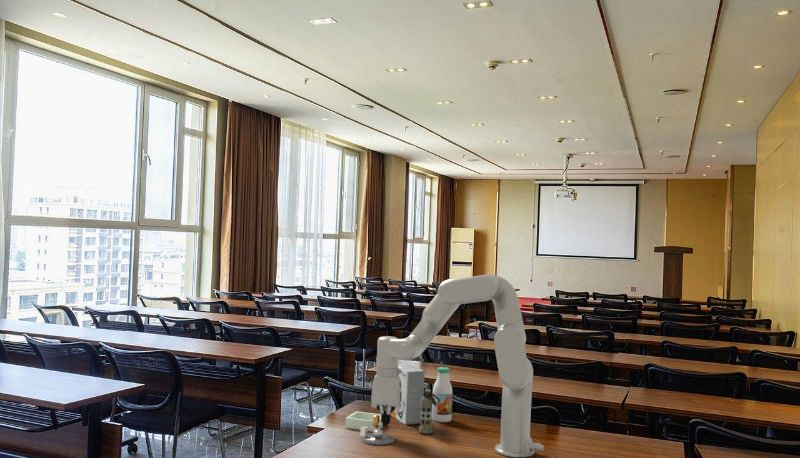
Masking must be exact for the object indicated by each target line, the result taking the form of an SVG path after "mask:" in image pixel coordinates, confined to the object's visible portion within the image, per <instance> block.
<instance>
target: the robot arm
mask: <svg viewBox="0 0 800 458" xmlns="http://www.w3.org/2000/svg"><path fill="white" fill-rule="evenodd" d="M490 300H491V301H492V303H493V307H494V314H495V319H496V328H497V331H496V332H495V334H494V337H493V339H494V340H493V343H494V344H493V346H494V351H495V352H494V353H495V358H496V364H497V368H498V369H497V370H498V375H499V379H500V382H501V383H502V392H501V393H502V395H501V416H500V419H501V420H500V440H499V441H500V443H497V444H496V445H495V448H494V450H495V451H496V453H498V454H499V455H503V456H507V457H512V458H527V457H532V456H533V455H534V454H535V450H536V451H540V452H543V451H544V444H541V442H534V441H532V437H531V418H532V416H531V412H532V411H531V410H532V394H533V393H532V392H533V383H534V382H533V381H534V368H533V365H532V362H531V361H530V360H529V358H527V357H528V356H527V353H526V346H525V344H526V341H527V335H526V332H525V328H524V327H525V326H524V320H523V316H522V311H521V307H520V301H519V298H518V294H517V291H516V290H515V287H514V286H513V285H512V284H511V283H510V282H509V280H507V279H505V278H503V277H501V276H499V275H496V274H491V273H487V274H485V273H484V274H482V275H481V274H480V275H475V276H473V275H472V276H470V277H469V276H467V277H462V278H461V277H460V278H450V279H449V278H448V279H446V280H444V281H442V282H441V283H440V284H439V285H438V289H437V292H436V294H435V295H434V297H433V299H432V300H430V302H429V303H428V304H427V306H425V307H424V309H423V311H422V316H421V320H420V322H419V323H418V324H417V325H416V327H415V328H414V329H413V331H412V332H411V333H410V334H409V336H407V337H405V338H398V337H396V336H389V335H386V336H385V335H384V336H380V337H378V338H377V345H376V347H377V349H376V351H377V353H376V373H375V375H374V378H373V383H372V390H371V404H370V407H371V408H374V409H377V410H378V412H379V414H381V423H382V426H383V427H388V426H389V424H390V423H391V412H393V411H394V410H398V409H401V401H402V389H401V379H400V376H398V374H402V370H400V369H399V367H398V364H399V360H400V361H411V360H412V361H413V359H415V358H417V357H419V356H421V355H422V353H423V352H424V351H425V350H426V349H427V348H428V346H429V345H430V344H431V343H432V342H433V340H434V339H435V338H436V336H437V335H438V333H439V332H440V331H441V329H443V327H444V325H445V324H446V323H447V321H448V320H450V318H451V317H452V315H454V314H455V311H456V310H457V309H458V308H459V306H461V305H463V304H466V305H467V304H472V303H473V304H474V303H480V302H487V301H490ZM386 406H387V409H386Z"/></svg>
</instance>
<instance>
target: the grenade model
mask: <svg viewBox="0 0 800 458" xmlns="http://www.w3.org/2000/svg"><path fill="white" fill-rule="evenodd" d="M434 397H435V398H437V399H438V402H437V403H439V402H440V400H439V398H438V397H437V396H436V395H434V394H433V392H432V389H424V397H421V398H420V403H421V423H420V425H419V426H418V432H419V433H420V434H422V435H431V434H432V433H434V432H433V431H434V427H433V426H432V421H433V420H432V404H434V405H435V407H436V406H437V405H436V404H437V403H436V402H435V399H434Z"/></svg>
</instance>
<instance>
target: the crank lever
mask: <svg viewBox="0 0 800 458" xmlns="http://www.w3.org/2000/svg"><path fill="white" fill-rule="evenodd" d="M379 420H380V416H379V415H374V416H373V429H374V430H373V432H372V433H373V437H376V438H381V437H383V434H384V433H383V432H384V430H383V429H382V428H379Z"/></svg>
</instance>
